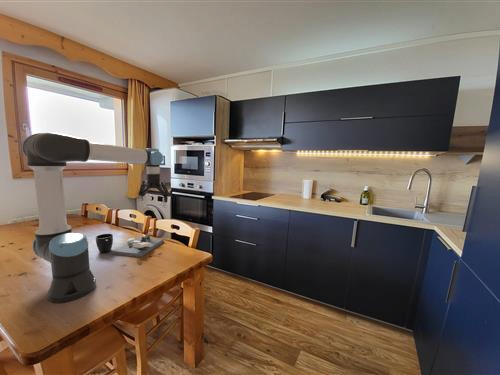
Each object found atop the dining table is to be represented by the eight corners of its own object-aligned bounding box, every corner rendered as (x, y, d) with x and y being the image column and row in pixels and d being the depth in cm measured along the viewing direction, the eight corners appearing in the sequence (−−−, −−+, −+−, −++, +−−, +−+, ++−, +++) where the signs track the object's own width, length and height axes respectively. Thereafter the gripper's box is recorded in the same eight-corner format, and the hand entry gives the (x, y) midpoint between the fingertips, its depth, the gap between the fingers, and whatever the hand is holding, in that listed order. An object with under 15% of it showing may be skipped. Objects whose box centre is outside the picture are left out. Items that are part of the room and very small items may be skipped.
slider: (138, 247, 125) (138, 242, 125) (132, 246, 126) (132, 241, 125) (141, 245, 127) (140, 240, 127) (135, 244, 128) (135, 240, 128)
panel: (141, 257, 117) (140, 248, 116) (112, 254, 120) (112, 246, 119) (163, 241, 140) (163, 234, 139) (139, 239, 142) (139, 232, 142)
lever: (146, 240, 135) (152, 229, 133) (142, 238, 135) (148, 227, 133) (148, 239, 138) (154, 228, 136) (145, 236, 138) (151, 226, 136)
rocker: (139, 247, 117) (140, 244, 117) (132, 247, 118) (133, 244, 118) (150, 245, 127) (151, 242, 127) (144, 244, 127) (144, 241, 128)
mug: (98, 257, 115) (97, 241, 114) (95, 250, 124) (94, 235, 123) (116, 253, 121) (115, 238, 119) (112, 247, 129) (111, 232, 128)
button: (132, 244, 128) (132, 241, 128) (125, 244, 129) (125, 240, 128) (137, 242, 132) (136, 238, 132) (130, 241, 133) (130, 237, 133)
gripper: (175, 173, 132) (175, 206, 135) (139, 172, 135) (140, 204, 138) (169, 174, 124) (170, 208, 127) (131, 173, 128) (132, 206, 130)
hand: (154, 206), depth 132 cm, fingers open, 13 cm apart
